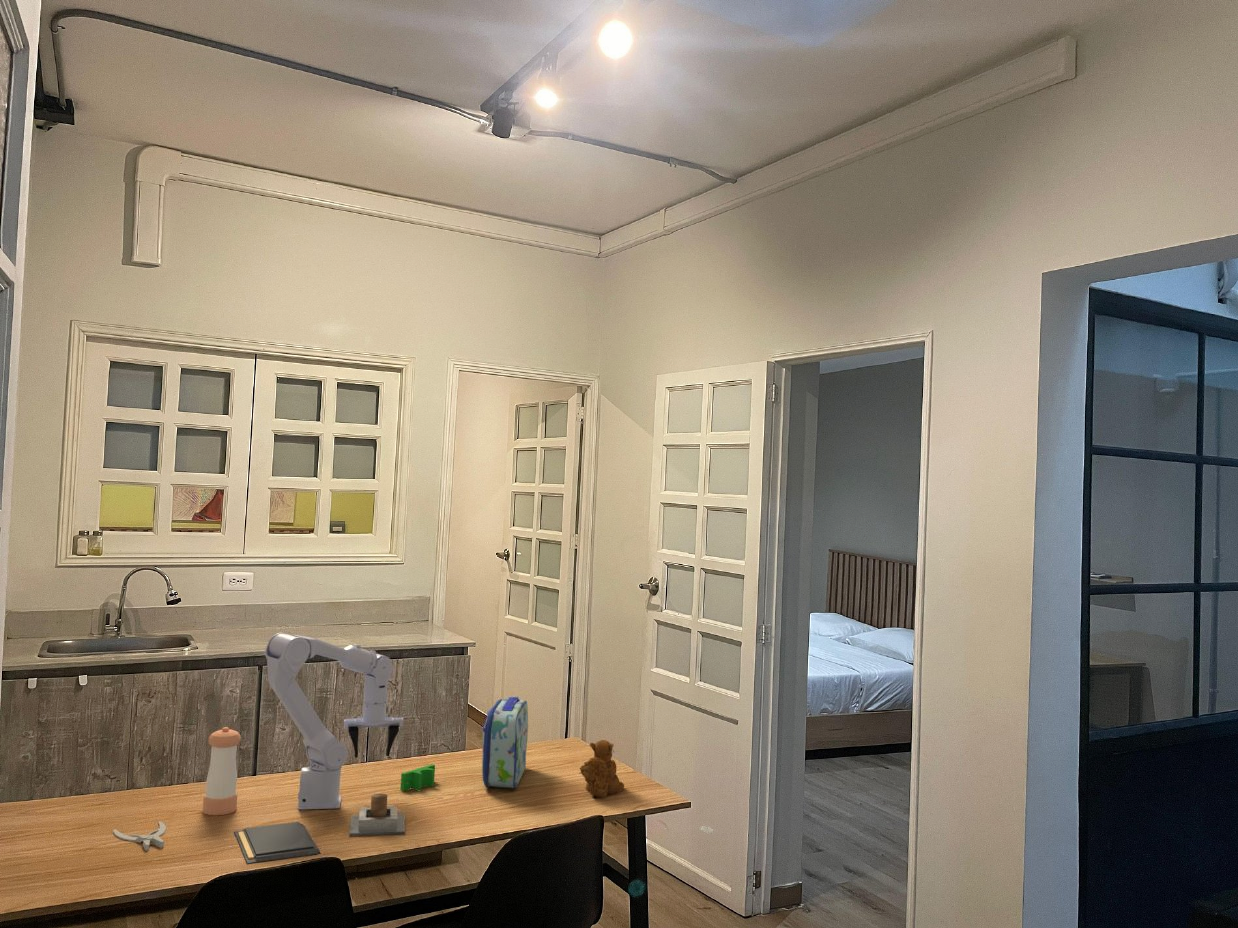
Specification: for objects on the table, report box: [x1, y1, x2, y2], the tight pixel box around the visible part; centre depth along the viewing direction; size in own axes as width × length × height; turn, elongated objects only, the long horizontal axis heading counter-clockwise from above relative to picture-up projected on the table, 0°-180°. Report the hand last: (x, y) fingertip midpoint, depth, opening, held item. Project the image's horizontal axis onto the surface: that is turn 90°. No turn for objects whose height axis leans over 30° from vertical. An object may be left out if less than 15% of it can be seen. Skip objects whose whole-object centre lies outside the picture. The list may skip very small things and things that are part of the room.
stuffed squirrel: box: [578, 739, 625, 799], centre depth 238 cm, size 10×14×13 cm
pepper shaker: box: [202, 726, 242, 816], centre depth 211 cm, size 7×7×19 cm
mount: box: [348, 806, 406, 837], centre depth 206 cm, size 12×12×3 cm
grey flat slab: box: [233, 821, 322, 865], centre depth 193 cm, size 20×2×15 cm
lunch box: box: [481, 696, 529, 789], centre depth 246 cm, size 26×11×21 cm, turn 179°
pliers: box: [113, 821, 167, 852], centre depth 192 cm, size 10×2×15 cm
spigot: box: [370, 793, 388, 818], centre depth 206 cm, size 4×4×6 cm
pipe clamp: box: [400, 763, 436, 792], centre depth 235 cm, size 11×4×5 cm, turn 148°
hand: (372, 755), depth 228 cm, fingers open, 7 cm apart
